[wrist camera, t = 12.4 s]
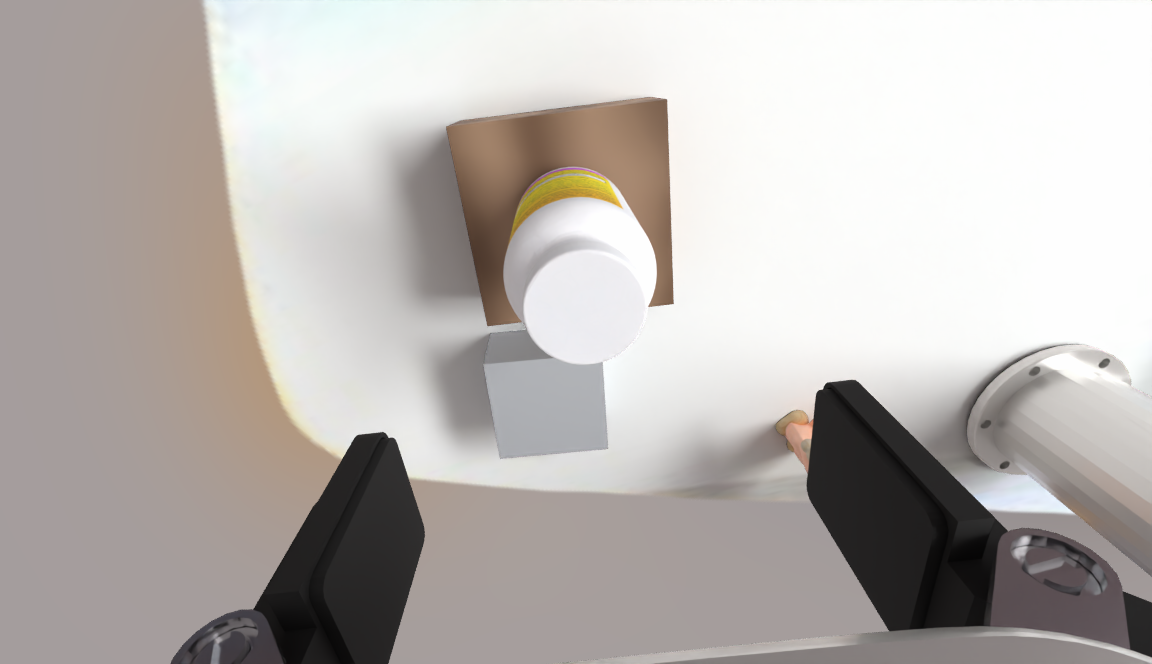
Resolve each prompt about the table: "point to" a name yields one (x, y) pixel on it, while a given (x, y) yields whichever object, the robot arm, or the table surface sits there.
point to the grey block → (542, 399)
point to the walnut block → (551, 141)
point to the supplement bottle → (579, 267)
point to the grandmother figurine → (797, 434)
